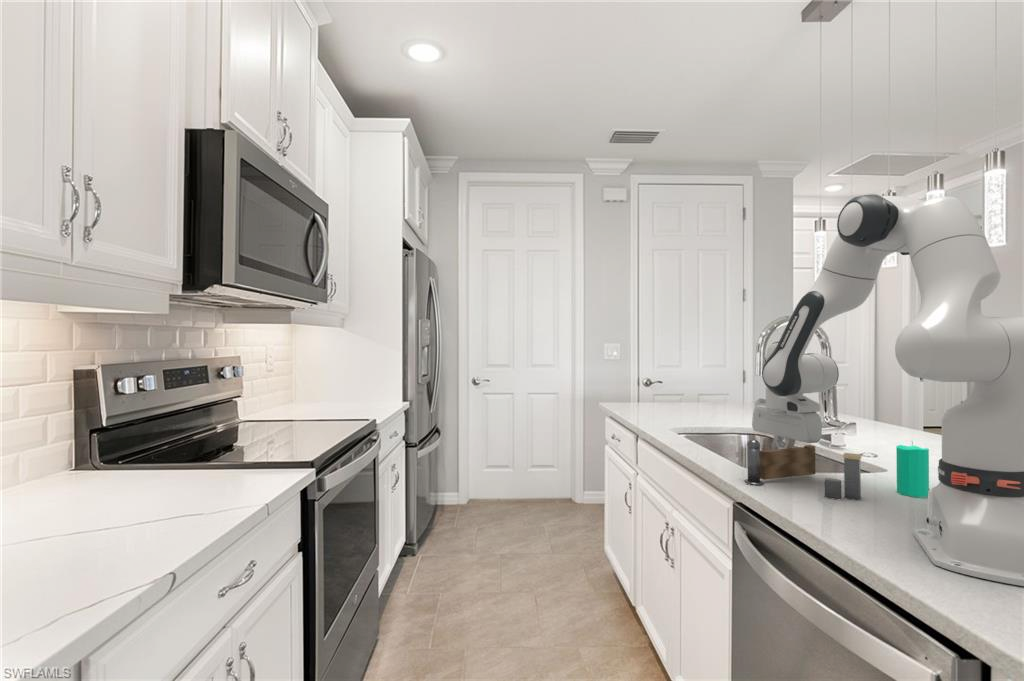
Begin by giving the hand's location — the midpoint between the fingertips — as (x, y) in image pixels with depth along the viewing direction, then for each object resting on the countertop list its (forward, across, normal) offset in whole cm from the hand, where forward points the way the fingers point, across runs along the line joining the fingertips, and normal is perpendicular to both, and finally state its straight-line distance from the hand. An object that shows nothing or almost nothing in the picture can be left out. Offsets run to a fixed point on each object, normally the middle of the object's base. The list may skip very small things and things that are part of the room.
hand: (784, 453), depth 140 cm
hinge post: (+5, +6, -15) cm, 17 cm away
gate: (+4, +6, -5) cm, 8 cm away
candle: (+5, +24, +12) cm, 28 cm away
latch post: (+5, +22, -5) cm, 23 cm away
